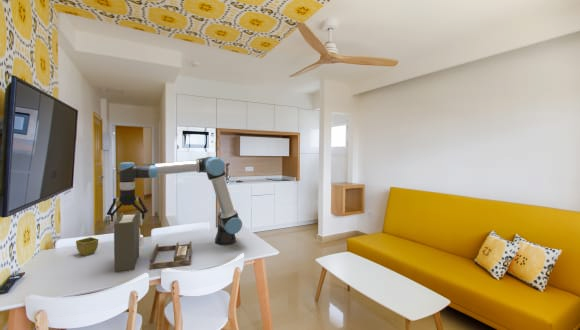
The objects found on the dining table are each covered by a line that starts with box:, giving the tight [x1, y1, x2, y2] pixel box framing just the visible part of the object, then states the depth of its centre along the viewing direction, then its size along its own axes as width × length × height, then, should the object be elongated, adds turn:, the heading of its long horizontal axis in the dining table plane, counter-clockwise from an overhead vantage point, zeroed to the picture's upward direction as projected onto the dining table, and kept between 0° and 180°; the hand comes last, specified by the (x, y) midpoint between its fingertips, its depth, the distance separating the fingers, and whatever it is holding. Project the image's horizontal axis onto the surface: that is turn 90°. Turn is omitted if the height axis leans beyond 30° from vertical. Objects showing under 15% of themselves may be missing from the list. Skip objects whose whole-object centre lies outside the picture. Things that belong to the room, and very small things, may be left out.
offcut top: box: [176, 246, 188, 259], centre depth 165 cm, size 5×16×2 cm, turn 18°
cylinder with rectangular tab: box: [139, 227, 144, 248], centre depth 186 cm, size 9×9×12 cm
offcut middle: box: [176, 249, 189, 261], centre depth 165 cm, size 5×16×2 cm, turn 16°
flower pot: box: [75, 236, 99, 256], centre depth 168 cm, size 9×9×9 cm
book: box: [113, 211, 140, 273], centre depth 155 cm, size 22×9×28 cm, turn 23°
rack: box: [149, 241, 192, 270], centre depth 163 cm, size 21×28×6 cm
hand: (128, 225), depth 155 cm, fingers open, 13 cm apart
